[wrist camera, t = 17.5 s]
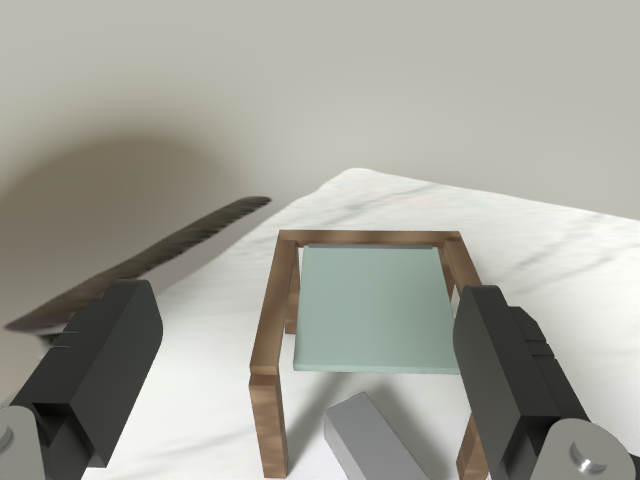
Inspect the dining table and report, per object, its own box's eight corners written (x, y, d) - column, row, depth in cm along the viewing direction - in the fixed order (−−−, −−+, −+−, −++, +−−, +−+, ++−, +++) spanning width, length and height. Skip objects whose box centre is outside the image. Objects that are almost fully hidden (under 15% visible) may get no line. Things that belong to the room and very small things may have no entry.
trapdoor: (293, 371, 36) (293, 363, 35) (304, 249, 46) (304, 241, 45) (462, 375, 35) (465, 367, 34) (434, 250, 46) (436, 242, 45)
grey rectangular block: (324, 437, 43) (389, 549, 35) (324, 411, 40) (394, 524, 32) (361, 418, 44) (432, 520, 36) (363, 391, 42) (439, 494, 34)
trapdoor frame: (264, 477, 39) (246, 376, 31) (287, 322, 56) (279, 229, 48) (483, 485, 38) (524, 383, 30) (440, 325, 55) (459, 231, 47)
